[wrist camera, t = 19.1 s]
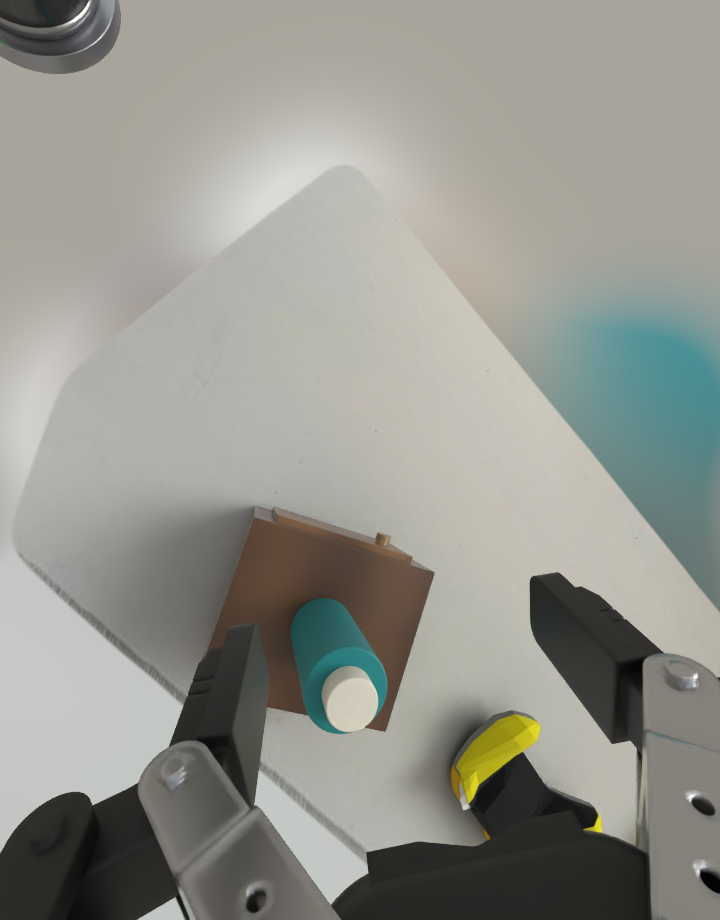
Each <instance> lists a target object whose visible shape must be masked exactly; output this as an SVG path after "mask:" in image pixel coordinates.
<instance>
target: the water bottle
mask: <svg viewBox="0 0 720 920" xmlns="http://www.w3.org/2000/svg"><path fill="white" fill-rule="evenodd" d="M290 636H291V642H292V647H293V652H294V657H295V662H296V667H297V671H298V676H299V681H300V686H301V691H302V696H303V701H304V705H305V709H306V711H307V714H308V715H309V717H310V719H311V720H312V721H313V722H314V723H315V724H316V725H317V726H318V727H320V728H321V729H323V730H325V731H327V732H330V733H335V734H346V733H351V732H355V731H358V730H360V729H362V728H364V727H365V726H367V725H368V724H369V723H370V722H371V721H372V720H373V719H374V718H375V717H376V716H377V714H378V713H379V711H380V710H381V708H382V706H383V704H384V701H385V698H386V694H387V676H386V672H385V670H384V667H383V665H382V664H381V662H380V660H379V659H378V657H377V656H376V654H375V653H374V651H373V649H372V648H371V646H370V645H369V643H368V642H367V640H366V639H365V637H364V635H363V634H362V632H361V631H360V629H359V628H358V626H357V625H356V623H355V621H354V620H353V618H352V617H351V615H350V614H349V612H348V611H347V609H346V608H345V607H344V606H343V605H342V604H341V603H339V602H337V601H336V600H333V599H328V598H320V599H315V600H312V601H310V602H308V603H306V604H305V605H304V606H302V607H301V608H300V609H299V610H298V612H297V613H296V615H295V616H294V618H293V621H292V624H291V629H290Z"/></svg>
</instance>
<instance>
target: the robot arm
mask: <svg viewBox="0 0 720 920" xmlns="http://www.w3.org/2000/svg"><path fill="white" fill-rule="evenodd" d="M96 6H97V0H0V26H1V27H2V28H4V29H6V30H8V31H10V32H12V33H14V34H17V35H19V36H22V37H26V38H30V39H36V40H57V39H62V38H66V37H68V36H71V35H73V34H75V33H77V32H78V31H80V30H81V29H82V28H84V27H85V26H86V25H87V24H88V22H89V21H90V20H91V18H92V16H93V15H94V12H95V10H96ZM530 623H531V629H532V632H533V635H534V638H535V640H536V642H537V643H538V645H539V646H540V648H541V649H542V650H543V652H544V653H545V654H546V656H547V657H548V658H549V660H550V661H551V662H552V664H553V665H554V666H555V668H556V669H557V670H558V672H559V673H560V674H561V676H562V677H563V679H564V680H565V681H566V683H567V684H568V685H569V687H570V688H571V689H572V691H573V692H574V693H575V695H576V696H577V697H578V699H579V700H580V701H581V703H582V704H583V705H584V707H585V708H586V709H587V711H588V712H589V714H590V715H591V716H592V718H593V719H594V720H595V722H596V723H597V724H598V726H599V727H600V728H601V730H602V731H603V732H604V734H605V735H606V736H607V738H608V739H609V740H610V742H611V743H612V744H615V743H620V742H625V741H630V740H631V742H632V743H633V744H634V746H635V747H636V748H637V752H636V846H634V845H632V844H630V843H627V842H625V841H623V840H621V839H619V838H616V837H613V836H610V835H607V834H604V833H600V832H595V831H591V830H583V828H582V827H581V825H580V823H579V821H578V819H577V818H576V816H575V814H574V812H573V810H568V811H563V812H559V813H554V814H549V815H544V816H539V817H535V818H530V819H525V820H522V821H520V822H518V823H517V824H515V825H513V826H512V827H510V828H508V829H506V830H505V831H503V832H501V833H499V834H498V835H496V836H494V837H493V838H491V839H489V840H487V841H486V842H484V843H482V844H480V845H478V846H460V845H449V844H438V843H428V842H414V843H409V844H404V845H400V846H395V847H390V848H385V849H380V850H375V851H371V852H366V853H367V863H368V872H369V873H368V874H366V875H365V876H363V877H361V878H360V879H358V880H357V881H355V882H354V883H353V884H352V885H350V886H349V887H348V888H347V889H346V890H344V891H343V892H342V893H341V894H340V896H338V897H337V898H336V899H335V901H334V902H333V903H332V904H331V905H330V904H329V902H328V901H327V900H326V898H325V897H324V895H323V894H322V893H321V891H320V890H319V889H318V887H317V886H316V884H315V883H314V882H313V880H312V879H311V877H310V876H309V875H308V873H307V872H306V870H305V869H304V868H303V866H302V865H301V863H300V862H299V861H298V860H297V858H296V857H295V855H294V854H293V852H292V851H291V850H290V848H289V847H288V846H287V844H286V843H285V841H284V840H283V839H282V837H281V836H280V834H279V833H278V832H277V830H276V829H275V828H274V826H273V825H272V823H271V822H270V821H269V819H268V818H267V817H266V815H265V814H264V813H263V811H262V810H261V809H260V808H259V807H257V806H254V801H255V794H256V786H257V778H258V771H259V763H260V755H261V748H262V740H263V732H264V724H265V717H266V709H267V701H268V694H269V673H268V667H267V662H266V657H265V653H264V648H263V643H262V639H261V634H260V630H259V626H258V624H257V623H256V622H254V623H249V624H243V625H237V626H231V627H229V629H228V632H227V635H226V639H225V642H224V645H223V647H220V648H214V649H211V650H210V651H209V652H208V653H207V655H206V656H205V657H204V658H203V659H202V660H201V662H200V663H199V664H198V667H197V670H196V673H195V675H194V678H193V683H192V684H191V687H190V689H189V692H188V696H187V698H186V701H185V703H184V706H183V709H182V712H181V715H180V717H179V720H178V723H177V726H176V728H175V731H174V734H173V737H172V740H171V743H170V745H169V747H168V748H167V749H165V750H163V751H162V752H161V753H159V754H158V755H157V756H156V757H155V758H154V759H153V760H152V761H151V762H150V763H149V764H148V766H147V767H146V768H145V770H144V772H143V773H142V775H141V778H140V780H139V782H138V783H137V784H135V785H134V786H132V787H130V788H128V789H127V790H125V791H122V792H120V793H118V794H116V795H114V796H112V797H110V798H108V799H106V800H103V801H101V802H99V803H97V804H95V805H93V806H92V803H91V801H90V798H89V797H88V796H87V795H85V794H84V793H80V792H70V793H65V794H62V795H59V796H57V797H55V798H52V799H51V800H49V801H47V802H46V803H44V804H42V805H41V806H39V807H38V808H37V809H35V810H34V811H33V812H32V813H31V814H29V815H28V816H27V817H26V818H25V819H24V820H23V821H22V822H21V824H19V825H18V827H17V828H16V829H15V830H14V832H13V833H12V835H11V836H10V838H9V839H8V841H7V843H6V844H5V846H4V848H3V850H2V851H1V853H0V920H137V919H139V918H140V917H142V916H144V915H146V914H147V913H149V912H151V911H152V910H154V909H156V908H157V907H159V906H161V905H163V904H164V903H166V902H168V901H169V900H171V899H173V898H174V897H175V899H176V902H177V904H178V906H179V908H180V911H181V913H182V916H183V918H184V920H720V678H719V677H716V676H715V675H714V674H713V673H712V672H711V671H710V670H709V669H708V668H706V667H705V666H703V665H701V664H700V663H698V662H696V661H694V660H692V659H689V658H686V657H683V656H680V655H675V654H667V653H663V652H662V651H661V650H660V649H659V648H658V647H657V646H656V645H654V644H653V643H652V642H651V641H650V640H649V639H648V638H647V637H645V636H644V635H643V634H642V633H641V632H640V631H639V630H637V629H636V628H635V627H634V626H633V625H632V624H631V623H630V622H628V621H627V620H626V619H625V620H624V618H623V616H622V615H621V614H619V613H618V612H617V611H616V610H613V608H612V606H610V605H609V604H608V603H607V602H606V601H605V600H604V599H603V598H601V597H600V596H599V595H597V594H595V593H593V592H591V591H589V590H587V589H585V588H583V587H581V586H580V587H574V586H573V585H572V584H571V583H570V582H569V581H568V580H567V579H566V578H565V577H564V576H563V575H561V574H560V573H558V572H556V573H550V574H544V575H538V576H533V577H531V579H530Z"/></svg>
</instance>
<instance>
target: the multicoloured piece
mask: <svg viewBox="0 0 720 920" xmlns="http://www.w3.org/2000/svg"><path fill="white" fill-rule="evenodd" d="M540 729H541V727H540V725H539V723H538V722H537V721H536V720H535V719H534V718H533V717H532V716H530V715H528V714H525V713H521V712H517V711H512V710H511V711H507V712H504V713H500V714H497V715H493V716H492V717H491V718H490V719H489V720H488V721H487V722H486V723H484V724H483V725H482V726H481V727H480V728H479V729H478V730H476V731H475V732H474V733H473V734H472V735H471V736H470V737H469V738H468V739H467V741H466V742H465V744H464V745H463V747H462V748H461V749H460V751H459V752H458V754H457V755H456V757H455V759H454V762H453V764H452V770H451V781H452V788H453V792H454V793H455V795H456V796H457V798H458V800H459V801H460V803H461V805H462V808H463V810H466V809H468V808H470V810H471V811H472V812H473V814H474V815H475V817H476V818H477V820H478V821H479V822H480V824H481V825H482V827H483V834H484V835H485V837H486V839H487V840H489V839H491V838H493V837H494V836H496V835H498V834H499V833H501V832H503V831H505V830H506V829H508V828H510V827H512V826H513V825H515V824H517V823H518V822H520V821H522V820H525V819H530V818H535V817H539V816H544V815H549V814H554V813H559V812H563V811H568V810H573V812H574V814H575V816H576V818H577V819H578V821H579V823H580V825H581V827H582V828H583V830H591V831H595V832H600V833H601V831H602V822H601V818H600V816H599V814H598V812H597V811H596V809H595V808H594V807H593V806H592V805H591V804H590V803H588V802H586V801H583V800H581V799H578V798H575V797H573V796H570V795H568V794H565V793H563V792H560V791H558V790H556V789H553V788H551V787H549V786H547V785H546V784H544V783H543V781H542V780H541V778H540V777H539V775H538V774H537V772H536V771H535V769H534V768H533V766H532V765H531V763H530V762H529V760H528V759H527V757H526V756H525V754H524V753H523V751H524V750H526V749H527V748H528V747H530V746H531V745H532V744H534V743H535V742H536V741H537V739H538V736H539V733H540Z"/></svg>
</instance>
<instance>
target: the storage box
mask: <svg viewBox="0 0 720 920" xmlns="http://www.w3.org/2000/svg"><path fill="white" fill-rule="evenodd" d="M390 540H391V537H390V536H388V535H385V534H382V533H377V536H376V539H374V538H371V537H367V536H364V535H361V534H358V533H355V532H352V531H348V530H345V529H342V528H339V527H336V526H333V525H330V524H326V523H323V522H320V521H317V520H314V519H311V518H307V517H304V516H301V515H298V514H295V513H292V512H289V511H285V510H282V509H279V508H276V507H273V510H272V511H270V510H267V509H264V508H261V507H257V506H255V507H254V510H253V512H252V515H251V518H250V521H249V524H248V526H247V529H246V532H245V535H244V538H243V541H242V543H241V546H240V549H239V552H238V555H237V557H236V560H235V563H234V566H233V569H232V572H231V574H230V577H229V580H228V583H227V586H226V588H225V591H224V594H223V597H222V600H221V603H220V605H219V608H218V611H217V614H216V617H215V619H214V622H213V625H212V628H211V631H210V634H209V636H208V639H207V643H206V646H205V650H204V654H203V657H202V659H203V658H204V657H205V656H206V655H207V653H208V652H209V651H210V650H211V649H214V648H220V647H223V645H224V642H225V639H226V635H227V632H228V629H229V627H231V626H237V625H243V624H249V623H254V622H256V623H257V624H258V626H259V630H260V634H261V639H262V643H263V648H264V653H265V657H266V662H267V667H268V673H269V694H268V701H267V707H270V708H275V709H280V710H285V711H289V712H294V713H299V714H304V715H308V714H307V711H306V709H305V705H304V701H303V696H302V691H301V686H300V681H299V676H298V671H297V667H296V662H295V657H294V652H293V647H292V642H291V636H290V629H291V624H292V621H293V618H294V616H295V615H296V613H297V612H298V610H299V609H300V608H301V607H302V606H304V605H305V604H306V603H308V602H310V601H312V600H315V599H320V598H328V599H333V600H336V601H337V602H339V603H341V604H342V605H343V606H344V607H345V608H346V609H347V611H348V612H349V614H350V615H351V617H352V618H353V620H354V621H355V623H356V625H357V626H358V628H359V629H360V631H361V632H362V634H363V635H364V637H365V639H366V640H367V642H368V643H369V645H370V646H371V648H372V649H373V651H374V653H375V654H376V656H377V657H378V659H379V660H380V662H381V664H382V665H383V667H384V670H385V672H386V676H387V694H386V698H385V701H384V704H383V706H382V708H381V710H380V711H379V713H378V714H377V716H376V717H375V718H374V719H373V720H372V721H371V722H370V723H369V724H368V725H367V726H365V728H370V729H375V730H379V731H384V732H385V731H386V728H387V725H388V722H389V719H390V716H391V712H392V709H393V706H394V703H395V699H396V696H397V693H398V690H399V686H400V683H401V680H402V677H403V673H404V670H405V667H406V664H407V661H408V657H409V654H410V651H411V648H412V644H413V641H414V638H415V635H416V631H417V628H418V625H419V622H420V618H421V615H422V612H423V609H424V605H425V602H426V599H427V596H428V593H429V589H430V586H431V583H432V580H433V576H434V572H433V571H431V570H429V569H428V568H426V567H424V566H423V565H421V564H419V563H417V562H416V561H414V560H412V558H413V557H412V556H410V555H408V554H406V553H405V552H403V551H401V550H399V549H398V548H396V547H394V546H392V545H391V544H389V543H390ZM308 716H309V715H308Z"/></svg>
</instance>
